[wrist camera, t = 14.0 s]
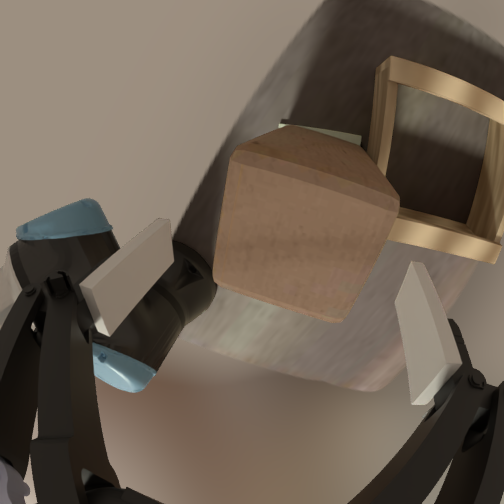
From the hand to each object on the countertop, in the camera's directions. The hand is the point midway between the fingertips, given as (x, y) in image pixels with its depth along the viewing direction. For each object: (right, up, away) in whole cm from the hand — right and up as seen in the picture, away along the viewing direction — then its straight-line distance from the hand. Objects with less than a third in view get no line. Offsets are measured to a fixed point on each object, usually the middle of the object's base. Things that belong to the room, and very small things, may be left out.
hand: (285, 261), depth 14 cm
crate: (+21, +13, +13) cm, 28 cm away
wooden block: (+6, +10, +18) cm, 22 cm away
